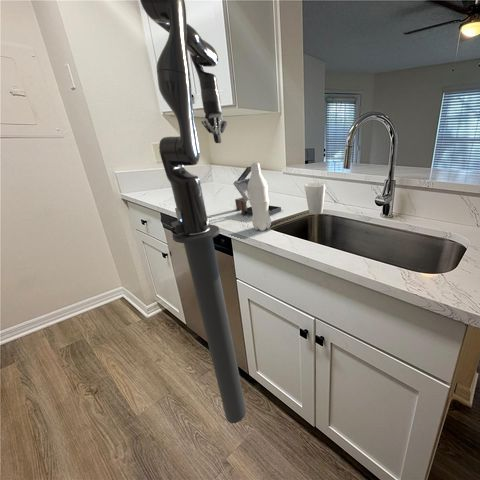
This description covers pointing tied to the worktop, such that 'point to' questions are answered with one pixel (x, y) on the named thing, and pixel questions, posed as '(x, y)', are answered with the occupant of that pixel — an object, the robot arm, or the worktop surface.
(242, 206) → the cradle
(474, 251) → the worktop surface
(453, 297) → the worktop surface
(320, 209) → the foam cup
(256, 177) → the water bottle
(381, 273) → the worktop surface
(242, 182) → the gray angle bracket
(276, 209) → the tray
